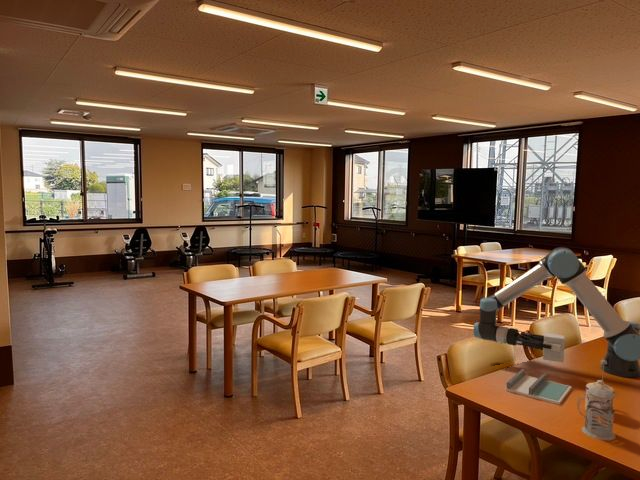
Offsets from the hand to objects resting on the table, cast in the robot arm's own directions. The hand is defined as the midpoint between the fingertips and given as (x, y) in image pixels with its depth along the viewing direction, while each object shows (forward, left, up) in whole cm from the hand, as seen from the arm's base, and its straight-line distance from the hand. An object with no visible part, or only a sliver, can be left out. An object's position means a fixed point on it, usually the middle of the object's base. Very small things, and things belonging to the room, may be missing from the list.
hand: (562, 346), depth 207 cm
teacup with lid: (-19, +25, -14) cm, 34 cm away
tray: (+4, +20, -14) cm, 25 cm away
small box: (+3, 0, -7) cm, 8 cm away
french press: (-21, +45, -14) cm, 52 cm away
